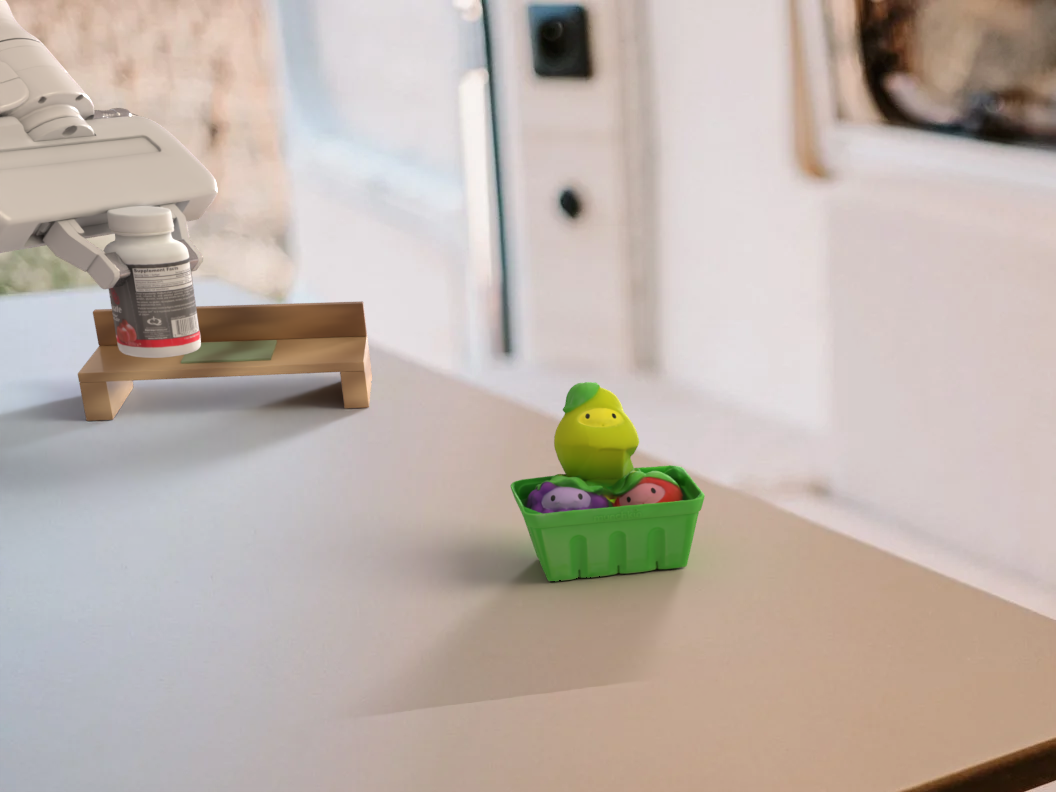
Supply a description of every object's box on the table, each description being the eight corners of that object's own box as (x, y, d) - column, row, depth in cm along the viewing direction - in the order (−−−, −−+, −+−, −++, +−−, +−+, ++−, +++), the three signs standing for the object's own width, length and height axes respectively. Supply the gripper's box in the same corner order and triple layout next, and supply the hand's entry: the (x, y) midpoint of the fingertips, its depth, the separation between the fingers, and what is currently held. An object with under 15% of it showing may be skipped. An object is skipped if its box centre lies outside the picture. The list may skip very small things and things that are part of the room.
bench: (86, 421, 132) (70, 336, 130) (108, 388, 142) (94, 309, 139) (369, 407, 139) (359, 326, 136) (372, 377, 148) (363, 301, 146)
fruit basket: (530, 592, 100) (516, 415, 96) (512, 546, 108) (497, 380, 103) (710, 573, 104) (704, 402, 100) (680, 530, 112) (673, 370, 107)
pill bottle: (109, 347, 115) (86, 206, 111) (188, 339, 118) (169, 202, 114) (130, 362, 111) (108, 217, 107) (212, 354, 114) (193, 213, 110)
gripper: (118, 136, 122) (240, 280, 123) (-131, 162, 104) (15, 329, 105) (157, 78, 119) (282, 225, 120) (-93, 94, 101) (57, 267, 102)
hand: (156, 274), depth 112 cm, fingers closed on pill bottle, 5 cm apart
